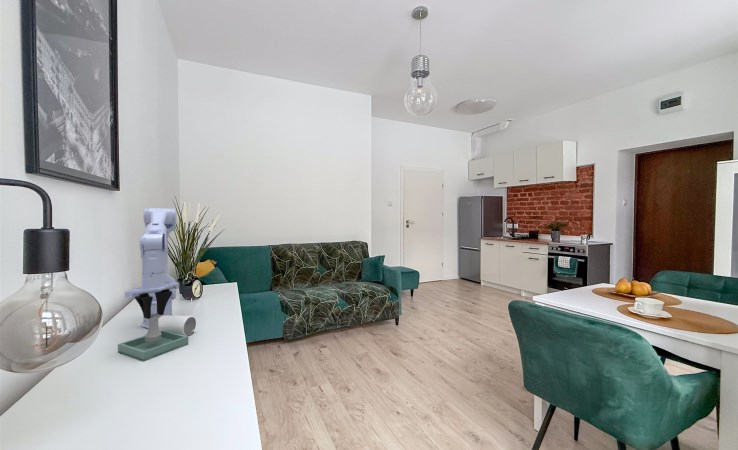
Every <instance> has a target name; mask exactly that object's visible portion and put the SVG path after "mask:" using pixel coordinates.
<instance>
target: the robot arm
mask: <svg viewBox="0 0 738 450" xmlns="http://www.w3.org/2000/svg"><path fill="white" fill-rule="evenodd" d="M143 223H144V227H145V230H144V234H143V235H140V237H139V250H140V258H141V259H142V260H141V262H142V263H141V264H142V265H141V268H142V269H141V271H142V272H141V276H142V277H141V281H142V282H141V287H138V288H133V289H129V290H125V291H124V298H126V299H133V298H134V299H135V300H136V302H137V303H138V305H139V307H140V309H141V311H142V316H143V317H142V321H143V323H142V324H140V327H142V328H145V329H148V327H149V324H148V322H149V320H148V319H149V318H150V317H151V315H152V314H153V313H154V315H155V313H157V314H159V316H160V317H161V316H166V315H167V316H173V301H174V300H175V299H176V298H177V289H180V282H177V280H176V279H175V278H174V277H173V276H171V275H169V274H168V264H169V263H168V262H169V261H168V259H169V258H168V257H169V256H168V254H169V252H168V251H169V250H168V249H169V248H168V247H169V236H170V234H171V232H174V231H176V226H177V210H176V208H173V207H172V208H163V207H161V208H159V207H158V208H157V207H155V208H154V207H146V208H144V209H143Z"/></svg>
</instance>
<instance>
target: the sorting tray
mask: <svg viewBox="0 0 738 450" xmlns="http://www.w3.org/2000/svg"><path fill="white" fill-rule="evenodd" d="M160 332H161V334H162V335H161V336H162V338H161V339H160V340H159V341H156V342H151V343H147V342H145V339H146V338H145V335H143V336H140V337H136V338H133V339H129V340H127V341H125V342H124V341H123V342H120V343H117V353H119V354H121V355H123V356H127V357H130V358H133V359H136V360H139V361H142V362H146V361H148V360H151V359H154V358H156V357H159V356H161V355H164V354H168V353H169V352H172V351H174V350H178V349H179V348H182V347H184V346H188V345H189V335H188V336H185V335H181V334H177V333H173V332H169V331H165V330H162V331H160Z"/></svg>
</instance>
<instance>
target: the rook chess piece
mask: <svg viewBox="0 0 738 450" xmlns="http://www.w3.org/2000/svg"><path fill="white" fill-rule="evenodd" d="M159 318H160V316H159V314H157V313H155V315H154V313H153V314H152V315H151V317H150V318H149V319H148V320H149V322H148V324H149V327H148V328H147V332H146V334H145V335H144V336H145V338H146V339H145V342H147V343H151V342H156V341H159V340H160V339H161V338H162V336H161V335H162V334H161V332H160V330H159V327H158V322H159V321H158V319H159Z"/></svg>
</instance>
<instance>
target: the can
mask: <svg viewBox="0 0 738 450" xmlns="http://www.w3.org/2000/svg"><path fill="white" fill-rule="evenodd" d="M158 321H159V322H158V327H159V330H160V331H162V330H165V331H169V332H173V333H177V334H181V335H185V336H188V337H189V336H190V335H192V334H193V332H194V331H195V330H196V325H197V321H196V318H195V317H194V316H192V315H172V316H167V315H166V316H161V317H160V318H159V319H158Z"/></svg>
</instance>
